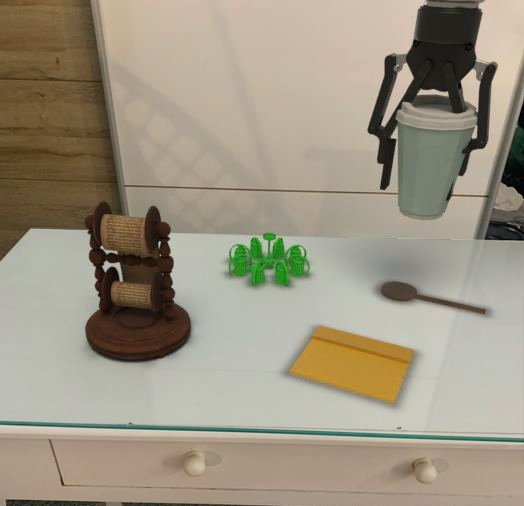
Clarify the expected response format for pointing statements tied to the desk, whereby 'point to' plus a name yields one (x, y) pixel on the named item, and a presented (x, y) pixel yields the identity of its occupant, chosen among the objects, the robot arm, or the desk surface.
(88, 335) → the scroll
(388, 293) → the spoon
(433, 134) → the disposable coffee cup
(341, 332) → the envelope
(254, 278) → the chandelier
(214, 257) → the desk surface
